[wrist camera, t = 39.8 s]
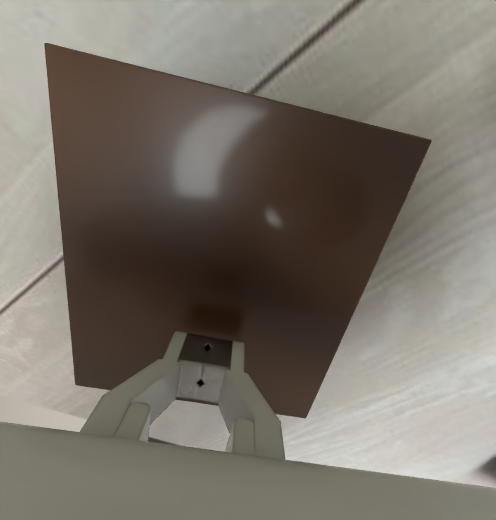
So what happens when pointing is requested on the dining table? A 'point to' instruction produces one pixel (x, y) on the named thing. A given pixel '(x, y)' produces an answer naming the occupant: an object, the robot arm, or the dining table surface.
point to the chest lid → (215, 221)
